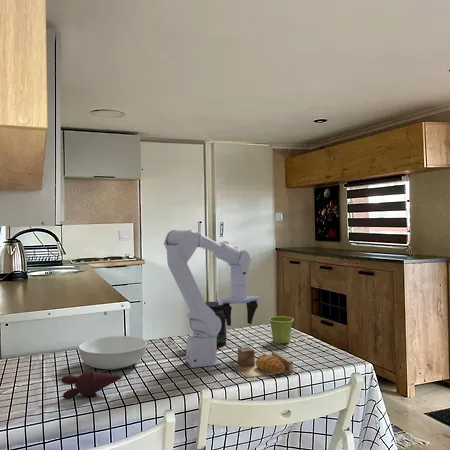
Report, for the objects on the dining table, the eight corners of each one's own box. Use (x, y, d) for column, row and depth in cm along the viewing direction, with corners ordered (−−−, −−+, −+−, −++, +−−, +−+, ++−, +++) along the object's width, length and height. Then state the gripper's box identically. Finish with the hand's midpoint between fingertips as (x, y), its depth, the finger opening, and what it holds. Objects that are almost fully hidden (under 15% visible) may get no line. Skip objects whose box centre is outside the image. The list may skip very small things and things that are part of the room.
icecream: (119, 362, 120) (62, 373, 116) (120, 364, 113) (59, 375, 109) (122, 389, 118) (64, 400, 114) (123, 392, 111) (61, 404, 107)
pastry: (290, 371, 129) (290, 359, 129) (273, 376, 125) (273, 363, 125) (269, 363, 137) (269, 351, 137) (252, 368, 133) (252, 355, 133)
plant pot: (297, 340, 165) (297, 317, 165) (287, 346, 157) (287, 322, 157) (275, 337, 170) (275, 315, 170) (264, 343, 162) (264, 319, 162)
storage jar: (195, 342, 163) (195, 303, 163) (218, 339, 168) (218, 300, 168) (207, 349, 155) (207, 307, 155) (231, 345, 159) (231, 304, 159)
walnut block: (242, 367, 133) (242, 351, 133) (237, 363, 137) (237, 348, 137) (254, 366, 135) (254, 350, 135) (249, 362, 138) (249, 346, 138)
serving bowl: (142, 375, 128) (142, 352, 128) (70, 377, 127) (69, 354, 127) (150, 354, 149) (150, 334, 149) (88, 356, 148) (88, 335, 148)
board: (246, 378, 125) (246, 367, 125) (231, 365, 137) (231, 355, 137) (292, 371, 130) (292, 361, 130) (275, 360, 141) (275, 350, 141)
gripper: (222, 287, 144) (223, 328, 144) (263, 285, 148) (263, 325, 148) (216, 284, 150) (216, 324, 150) (254, 282, 155) (255, 320, 155)
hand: (239, 324), depth 150 cm, fingers open, 7 cm apart
